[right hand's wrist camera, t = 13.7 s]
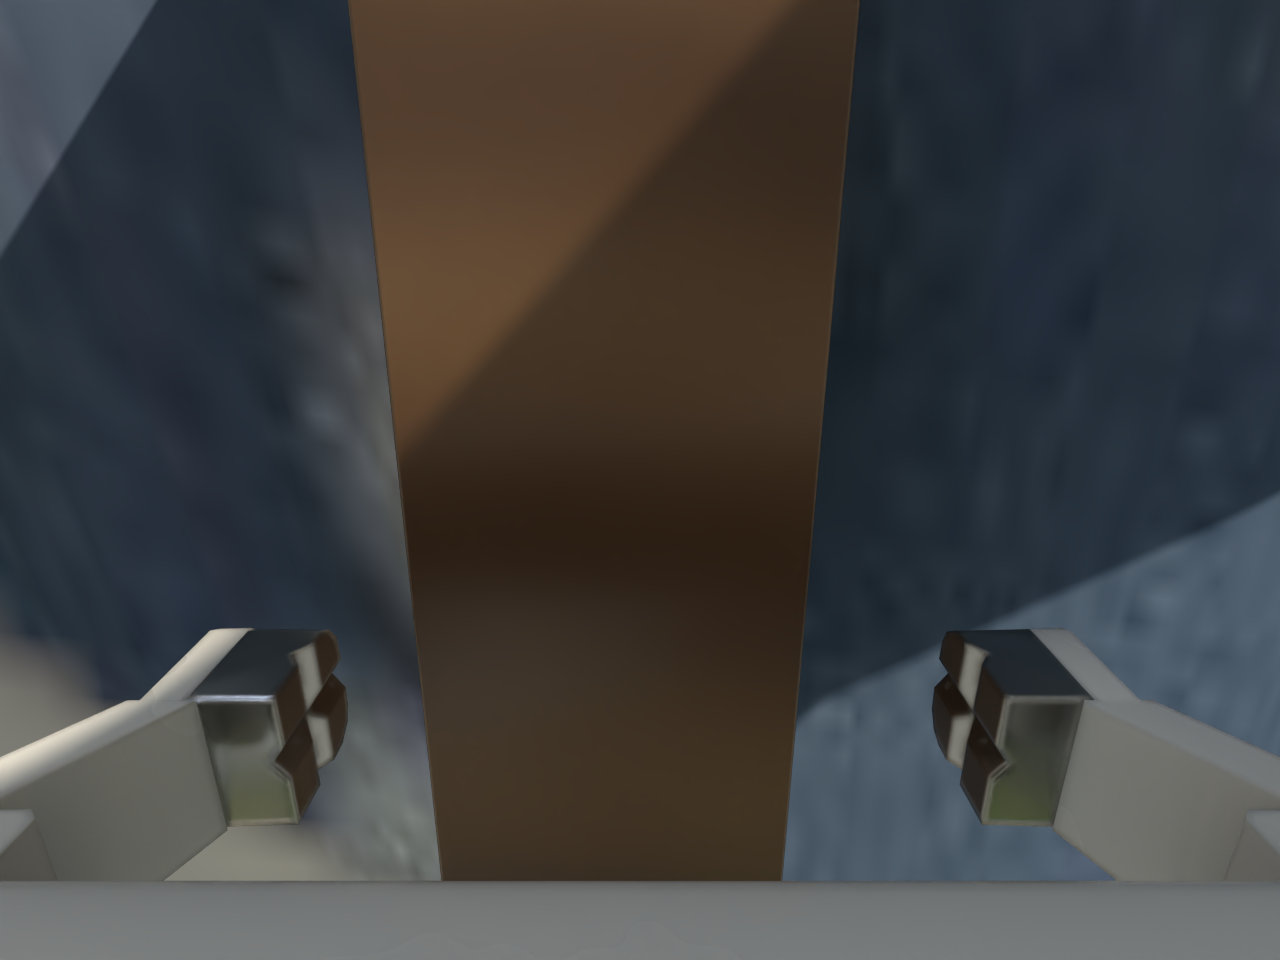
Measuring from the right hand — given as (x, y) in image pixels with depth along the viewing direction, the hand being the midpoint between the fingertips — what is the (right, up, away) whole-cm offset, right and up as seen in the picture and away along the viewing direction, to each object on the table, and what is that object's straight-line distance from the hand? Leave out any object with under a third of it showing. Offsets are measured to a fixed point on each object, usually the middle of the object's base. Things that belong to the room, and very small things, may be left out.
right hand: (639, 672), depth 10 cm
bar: (0, +9, +7) cm, 11 cm away
